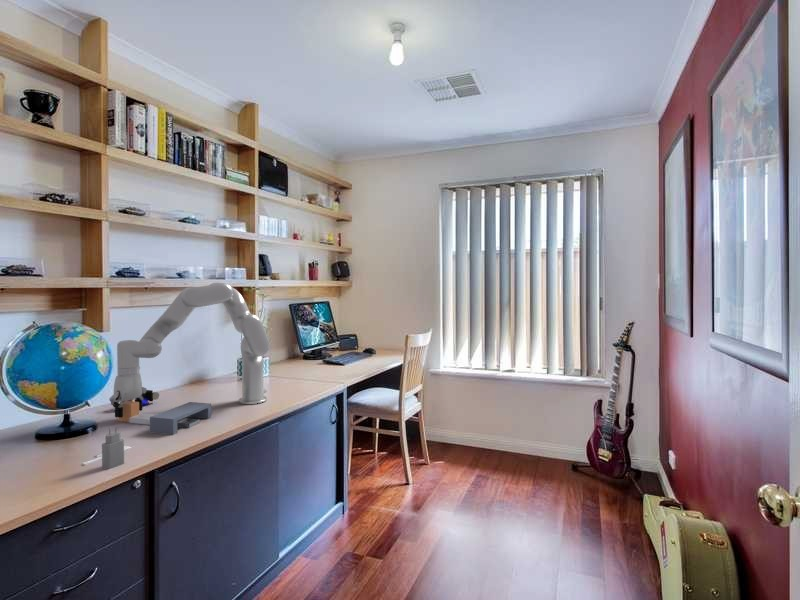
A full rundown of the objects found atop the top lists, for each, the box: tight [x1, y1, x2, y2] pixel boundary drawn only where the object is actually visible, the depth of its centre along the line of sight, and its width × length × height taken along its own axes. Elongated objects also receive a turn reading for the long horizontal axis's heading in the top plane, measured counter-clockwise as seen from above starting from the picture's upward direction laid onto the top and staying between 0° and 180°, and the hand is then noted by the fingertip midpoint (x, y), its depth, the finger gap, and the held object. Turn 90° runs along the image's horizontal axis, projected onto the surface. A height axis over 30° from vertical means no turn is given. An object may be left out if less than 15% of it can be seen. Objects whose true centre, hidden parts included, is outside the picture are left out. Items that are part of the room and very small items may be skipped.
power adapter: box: [101, 424, 125, 470], centre depth 134 cm, size 3×5×12 cm, turn 156°
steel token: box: [177, 417, 201, 429], centre depth 173 cm, size 6×6×2 cm
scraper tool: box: [118, 401, 155, 426], centre depth 177 cm, size 6×23×7 cm, turn 78°
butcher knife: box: [81, 445, 133, 466], centre depth 142 cm, size 5×15×1 cm, turn 158°
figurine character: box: [124, 389, 160, 406], centre depth 199 cm, size 7×8×15 cm
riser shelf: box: [149, 401, 212, 435], centre depth 174 cm, size 22×10×6 cm, turn 168°
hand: (128, 413), depth 179 cm, fingers open, 9 cm apart
